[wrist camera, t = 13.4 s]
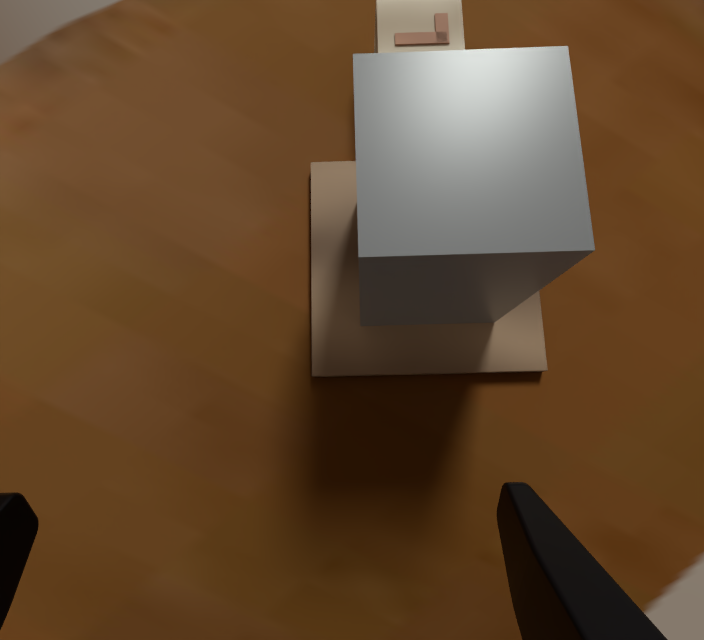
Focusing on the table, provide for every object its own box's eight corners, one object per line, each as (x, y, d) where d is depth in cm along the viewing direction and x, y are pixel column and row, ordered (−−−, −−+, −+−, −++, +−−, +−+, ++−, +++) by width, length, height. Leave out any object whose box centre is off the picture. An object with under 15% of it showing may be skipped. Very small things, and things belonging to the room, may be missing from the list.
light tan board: (542, 371, 23) (547, 370, 22) (313, 376, 23) (312, 375, 22) (521, 161, 25) (525, 155, 24) (312, 168, 25) (310, 162, 25)
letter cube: (450, 114, 26) (466, 59, 22) (376, 116, 26) (378, 61, 22) (445, 50, 27) (460, -15, 23) (374, 53, 27) (376, -12, 23)
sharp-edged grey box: (494, 322, 23) (595, 250, 13) (360, 326, 23) (358, 257, 13) (483, 197, 24) (568, 46, 14) (357, 201, 24) (352, 53, 14)
